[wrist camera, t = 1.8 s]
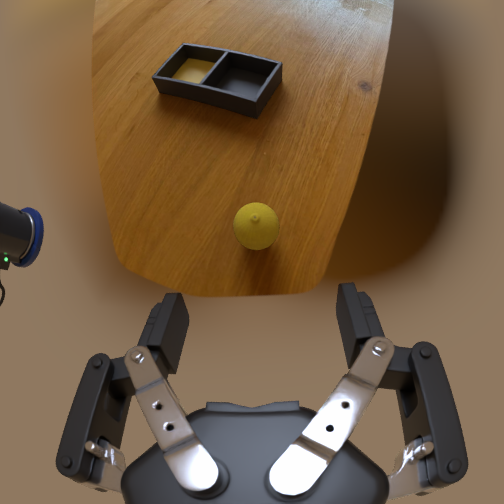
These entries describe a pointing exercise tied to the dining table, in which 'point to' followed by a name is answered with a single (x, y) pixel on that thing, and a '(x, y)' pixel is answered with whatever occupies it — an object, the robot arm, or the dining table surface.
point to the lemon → (256, 226)
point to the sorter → (220, 78)
